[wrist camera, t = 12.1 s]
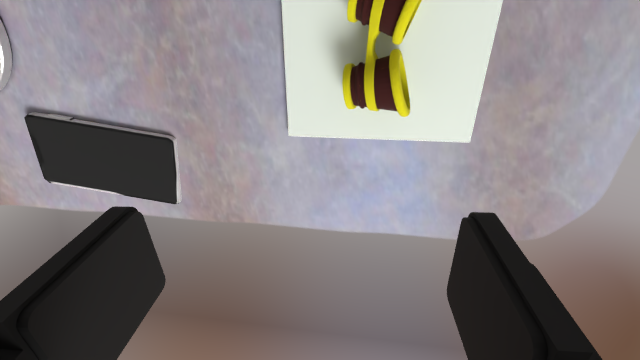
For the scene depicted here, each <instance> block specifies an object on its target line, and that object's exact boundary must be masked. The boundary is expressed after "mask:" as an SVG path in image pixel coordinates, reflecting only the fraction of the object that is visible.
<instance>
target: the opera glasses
mask: <svg viewBox="0 0 640 360" xmlns="http://www.w3.org/2000/svg"><path fill="white" fill-rule="evenodd" d="M421 1H422V0H348V7H347V19H348V21H349V22H353V23H356V22H357V21H358V20H359V21H361V23H362V25H363V26H365V25H369V32H368V42H367V52H366V61H365V63H363V62H360V63H359V64H358V65H357V66H355V65H354V64H353V63H348V64H346V65H345V67H344V70H343V79H342V87H343V96H344V101H345V105H346V107H347V108H348V109H355V108H356V107H357V106H359V107H360V108H361V109H364V108H365V107H367V108H368V109H369V110H371V111H379V110H380V109H383V110H390V111H397V112H398V113H399V115H400V116H402V117H407V116H408V115H409V114H410V98H409V91H408V83H407V77H406V71H405V66H404V61H403V56H402V53H401V51H400V50H399V49H393V50H392V51H391V53H390V55H389V56H386V57H383V58H378V56H377V54H376V52H375V43H376V39H377V37H378V35H379V34H380V32H383V33H384V34H386V35H388V36H390V37H392V42H393V43H394V44H396V45H399V44H401V43H402V41H403V39H404V37H405V35H406V33H407V31H408V29H409V27H410V24H411V22H412V20H413V18H414V16H415V14H416V12H417V10H418V7H419V5H420V3H421Z"/></svg>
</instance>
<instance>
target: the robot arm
mask: <svg viewBox="0 0 640 360" xmlns="http://www.w3.org/2000/svg"><path fill="white" fill-rule="evenodd" d="M11 69H12V52H11V48H10V43H9V39H8V36H7V33H6V31H5V28H4V26H3V23H2V21H1V19H0V91H1V90H2V89H3V88H4V87H5V85H6V84H7V82H8V80H9V78H10V75H11ZM164 285H165V275H164V273H163V270H162V267H161V265H160V262H159V259H158V256H157V253H156V251H155V248H154V245H153V242H152V239H151V236H150V234H149V231H148V228H147V225H146V223H145V220H144V217H143V215H142V213H140V212H138V210H137V209H136V208H134V207H112V208H110V209H109V210H107V211H106V212H105V213H104V214H103V215H101V216H100V217H99V218H98V219H97V220H95V221H94V222H93V223H92V224H91V225H90V226H88V227H87V228H86V229H85V230H84V231H83V232H81V233H80V234H79V235H78V236H77V237H75V238H74V239H73V240H72V241H71V242H69V243H68V244H67V245H66V246H65V247H64V248H62V249H61V250H60V251H59V252H58V253H56V254H55V255H54V256H53V257H52V258H51V259H49V260H48V261H47V262H46V263H44V264H43V265H42V266H41V267H40V268H39V269H38V270H36V271H35V272H34V273H33V274H31V275H30V276H29V277H28V278H27V279H26V280H24V281H23V282H22V283H21V284H20V285H18V286H17V287H16V288H15V289H14V290H13V291H11V292H10V293H9V294H8V295H7V296H5V297H4V298H3V299H2V300H1V301H0V360H117V358H118V357H119V355H120V354H121V352H122V351H123V349H124V348H125V346H126V345H127V343H128V342H129V340H130V339H131V337H132V336H133V334H134V333H135V331H136V329H137V328H138V326H139V325H140V323H141V322H142V320H143V319H144V317H145V316H146V314H147V313H148V311H149V309H150V308H151V307H152V305H153V303H154V302H155V300H156V299H157V298H158V296H159V295H160V293H161V292H162V290H163V288H164ZM447 297H448V301H449V304H450V307H451V310H452V313H453V316H454V319H455V322H456V325H457V328H458V331H459V334H460V337H461V340H462V342H463V346H464V349H465V351H466V355H467V358H468V360H602V358H601V357H600V356H599V354H598V353H597V351H596V350H595V349H594V347H593V346H592V345H591V343H590V342H589V340H588V339H587V338H586V336H585V335H584V333H583V332H582V331H581V329H580V328H579V326H578V325H577V324H576V322H575V321H574V319H573V318H572V317H571V315H570V314H569V312H568V311H567V310H566V308H565V307H564V305H563V304H562V303H561V301H560V300H559V298H558V297H557V296H556V294H555V293H554V292H553V290H552V289H551V287H550V286H549V285H548V283H547V282H546V280H545V279H544V278H543V276H542V275H541V273H540V272H539V271H538V269H537V268H536V267H535V266H534V265H533V264H531V263H530V262H529V261H528V259H527V258H526V257H525V255H524V254H523V252H522V251H521V250H520V248H519V247H518V245H517V244H516V242H515V241H514V240H513V238H512V237H511V235H510V234H509V233H508V231H507V230H506V228H505V227H504V225H503V224H502V223H501V221H500V220H499V218H498V217H497V216H496V214H495V213H478V212H472V213H470V214H469V216H468V218H463V219H462V221H461V225H460V230H459V234H458V239H457V244H456V249H455V253H454V258H453V263H452V267H451V272H450V276H449V281H448V286H447Z"/></svg>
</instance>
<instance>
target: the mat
mask: <svg viewBox="0 0 640 360" xmlns="http://www.w3.org/2000/svg"><path fill="white" fill-rule="evenodd" d="M281 1H282V20H283V39H284V57H285V76H286V95H287V114H288V133H289V136H299V137H327V138H356V139H384V140H413V141H441V142H470V139H471V135H472V131H473V126H474V122H475V118H476V113H477V109H478V105H479V101H480V96H481V92H482V88H483V83H484V79H485V75H486V71H487V66H488V62H489V58H490V53H491V49H492V45H493V41H494V36H495V32H496V28H497V23H498V19H499V15H500V11H501V6H502V2H503V0H422V1H421V3H420V5H419V7H418V10H417V12H416V14H415V16H414V18H413V20H412V22H411V24H410V27H409V29H408V31H407V33H406V35H405V37H404V39H403V41H402V43H401V44H399V45H396V44H394V43H393V42H392V37H390V36H388V35H386V34H384V33H383V32H380V34H379V35H378V37H377V39H376V43H375V52H376V54H377V56H378V58H383V57H386V56H389V55H390V53H391V51H392V50H393V49H399V50H400V51H401V53H402V56H403V61H404V66H405V71H406V77H407V83H408V91H409V98H410V114H409V115H408V116H407V117H402V116H400V115H399V113H398V112H397V111H390V110H383V109H380V110H379V111H371V110H369V109H368V108H367V107H365V108H364V109H361V108H360V107H359V106H357V107H356V108H355V109H348V108H347V107H346V105H345V101H344V96H343V87H342V79H343V70H344V67H345V65H346V64H348V63H353V64H354V65H355V66H357V65H358V64H359V63H360V62H363V63H365V61H366V52H367V42H368V32H369V25H365V26H363V25H362V23H361V21H359V20H358V21H357V22H356V23H353V22H349V21H348V19H347V7H348V0H281Z"/></svg>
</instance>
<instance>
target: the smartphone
mask: <svg viewBox="0 0 640 360" xmlns="http://www.w3.org/2000/svg"><path fill="white" fill-rule="evenodd" d="M24 118H25V121H26V124H27V128H28V131H29V134H30V137H31V140H32V143H33V146H34V149H35V152H36V155H37V158H38V161H39V164H40V167H41V170H42V173H43V176H44V179H45V180H47V181H48V182H49V183H54V184H60V185H66V186H72V187H78V188H84V189H89V190H95V191H101V192H107V193H113V194H119V195H124V196H130V197H136V198H142V199H148V200H154V201H159V202H165V203H171V204H177V203H180V201H181V199H182V198H181V186H180V175H179V163H178V151H177V140H176V138H174V137H172V136H170V135H164V134H158V133H153V132H147V131H141V130H135V129H130V128H124V127H118V126H112V125H107V124H101V123H95V122H89V121H83V120H78V119H74V117H68V116H62V115H57V114H43V113H37V112H33V113H30V114H27V115H26V116H25V117H24Z"/></svg>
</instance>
